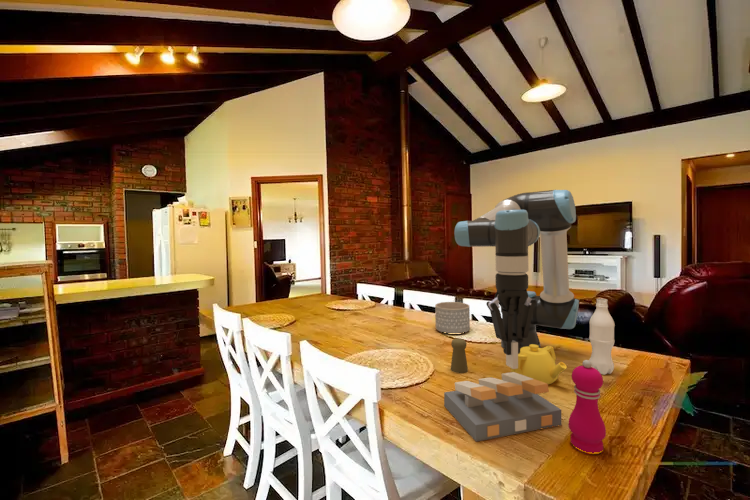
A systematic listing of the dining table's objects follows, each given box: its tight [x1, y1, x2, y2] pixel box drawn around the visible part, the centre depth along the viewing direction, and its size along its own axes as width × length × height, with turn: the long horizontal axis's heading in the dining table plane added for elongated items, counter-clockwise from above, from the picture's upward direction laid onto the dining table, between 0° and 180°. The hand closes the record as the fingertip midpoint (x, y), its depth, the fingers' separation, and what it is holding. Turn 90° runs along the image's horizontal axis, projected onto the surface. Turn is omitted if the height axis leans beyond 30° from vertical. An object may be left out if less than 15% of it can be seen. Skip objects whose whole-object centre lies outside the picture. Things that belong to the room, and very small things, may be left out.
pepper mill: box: [568, 359, 607, 453], centre depth 77 cm, size 7×7×20 cm
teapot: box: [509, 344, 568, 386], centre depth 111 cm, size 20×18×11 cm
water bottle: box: [588, 298, 616, 376], centre depth 116 cm, size 7×7×25 cm
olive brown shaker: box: [450, 338, 469, 374], centre depth 121 cm, size 6×6×11 cm
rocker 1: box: [454, 380, 496, 400], centre depth 89 cm, size 4×14×2 cm, turn 14°
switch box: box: [443, 389, 562, 442], centre depth 91 cm, size 24×17×6 cm
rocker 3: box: [501, 371, 550, 395], centre depth 93 cm, size 4×14×2 cm, turn 14°
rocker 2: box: [478, 377, 523, 396], centre depth 91 cm, size 4×14×2 cm, turn 14°
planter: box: [434, 301, 471, 334], centre depth 168 cm, size 16×16×13 cm
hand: (511, 366), depth 85 cm, fingers closed
